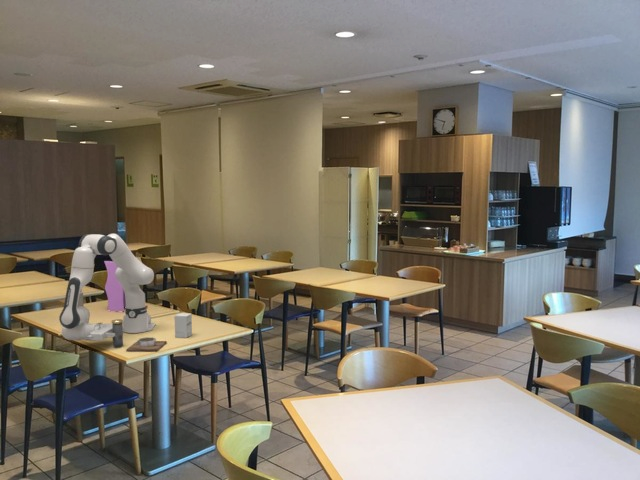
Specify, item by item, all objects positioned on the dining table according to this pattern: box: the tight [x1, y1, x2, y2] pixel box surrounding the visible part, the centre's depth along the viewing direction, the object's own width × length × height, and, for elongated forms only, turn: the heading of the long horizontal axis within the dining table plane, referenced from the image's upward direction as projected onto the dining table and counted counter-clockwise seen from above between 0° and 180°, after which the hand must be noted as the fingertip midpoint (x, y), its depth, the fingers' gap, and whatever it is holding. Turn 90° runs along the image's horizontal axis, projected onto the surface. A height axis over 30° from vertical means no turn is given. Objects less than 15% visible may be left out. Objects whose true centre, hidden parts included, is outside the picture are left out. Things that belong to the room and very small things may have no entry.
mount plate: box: [125, 340, 168, 353], centre depth 290 cm, size 16×16×1 cm
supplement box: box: [174, 312, 193, 339], centre depth 312 cm, size 7×7×13 cm
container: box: [103, 260, 126, 313], centre depth 382 cm, size 14×14×35 cm
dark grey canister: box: [111, 318, 124, 349], centre depth 291 cm, size 6×6×14 cm
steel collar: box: [136, 336, 157, 347], centre depth 290 cm, size 9×9×3 cm
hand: (118, 332), depth 291 cm, fingers open, 8 cm apart
